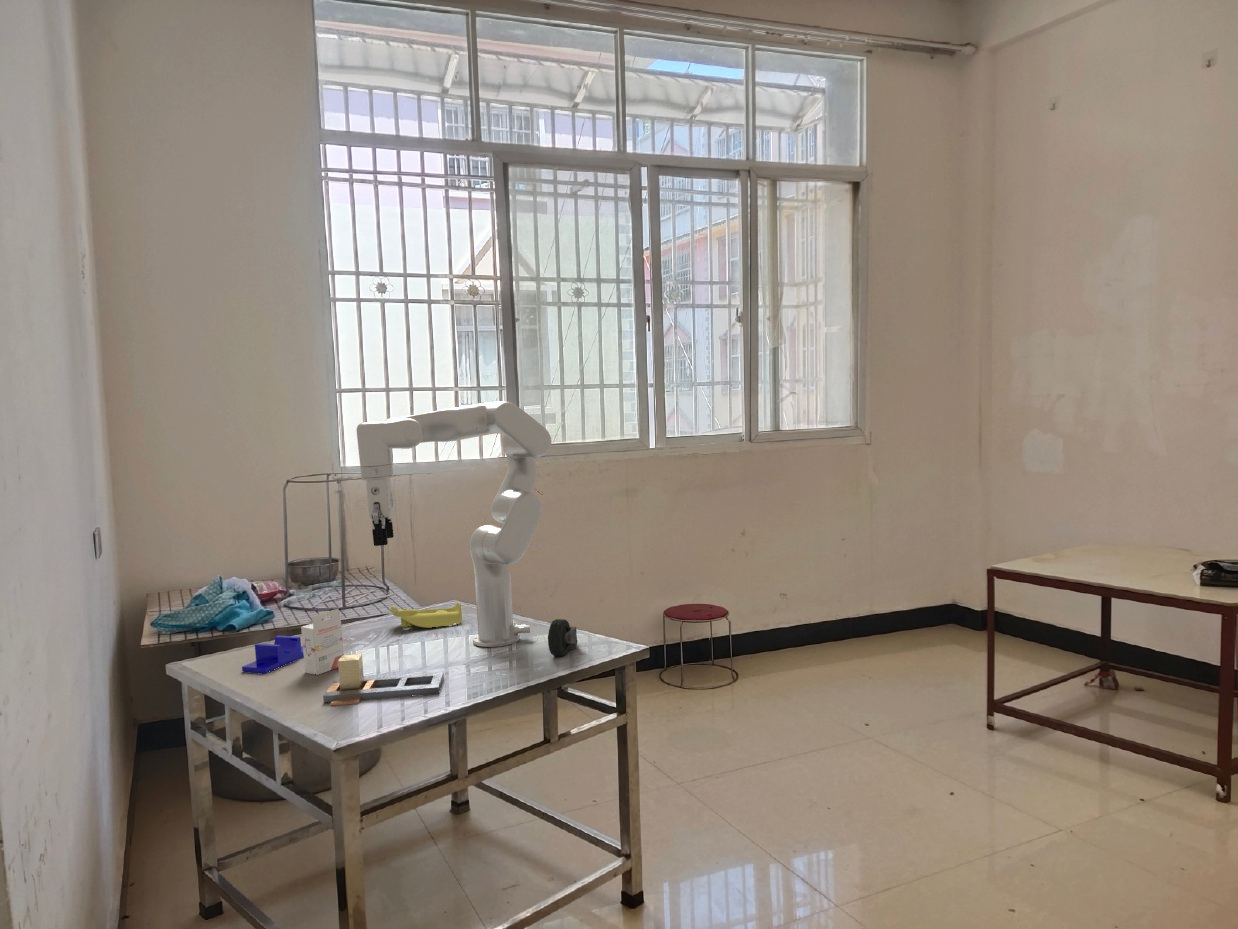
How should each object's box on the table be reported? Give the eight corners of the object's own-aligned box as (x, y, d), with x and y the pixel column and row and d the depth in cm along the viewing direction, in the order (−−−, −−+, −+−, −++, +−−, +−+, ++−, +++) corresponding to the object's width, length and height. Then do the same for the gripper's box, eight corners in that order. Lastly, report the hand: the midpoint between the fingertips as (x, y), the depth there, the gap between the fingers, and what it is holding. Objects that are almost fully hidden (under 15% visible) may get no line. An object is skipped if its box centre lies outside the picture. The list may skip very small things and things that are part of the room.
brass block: (364, 687, 193) (361, 653, 192) (360, 694, 189) (358, 659, 188) (344, 689, 192) (342, 655, 192) (340, 696, 188) (338, 661, 187)
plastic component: (455, 608, 257) (461, 600, 248) (456, 632, 254) (462, 625, 246) (388, 612, 249) (392, 604, 241) (389, 637, 247) (393, 629, 238)
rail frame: (444, 678, 198) (443, 671, 198) (437, 697, 185) (437, 690, 185) (335, 686, 195) (335, 679, 195) (321, 706, 183) (320, 699, 182)
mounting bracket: (292, 652, 227) (290, 630, 226) (314, 653, 224) (312, 631, 224) (242, 673, 210) (240, 650, 209) (265, 675, 207) (263, 652, 207)
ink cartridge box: (332, 663, 214) (328, 606, 213) (345, 665, 212) (341, 608, 210) (303, 673, 207) (299, 614, 206) (316, 675, 204) (312, 616, 203)
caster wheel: (565, 664, 207) (584, 641, 222) (562, 627, 206) (581, 606, 220) (544, 663, 209) (564, 640, 223) (541, 626, 207) (561, 606, 222)
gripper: (387, 474, 195) (394, 546, 197) (397, 467, 213) (404, 534, 214) (354, 477, 195) (362, 549, 196) (367, 470, 212) (374, 536, 213)
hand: (384, 541), depth 205 cm, fingers open, 9 cm apart
